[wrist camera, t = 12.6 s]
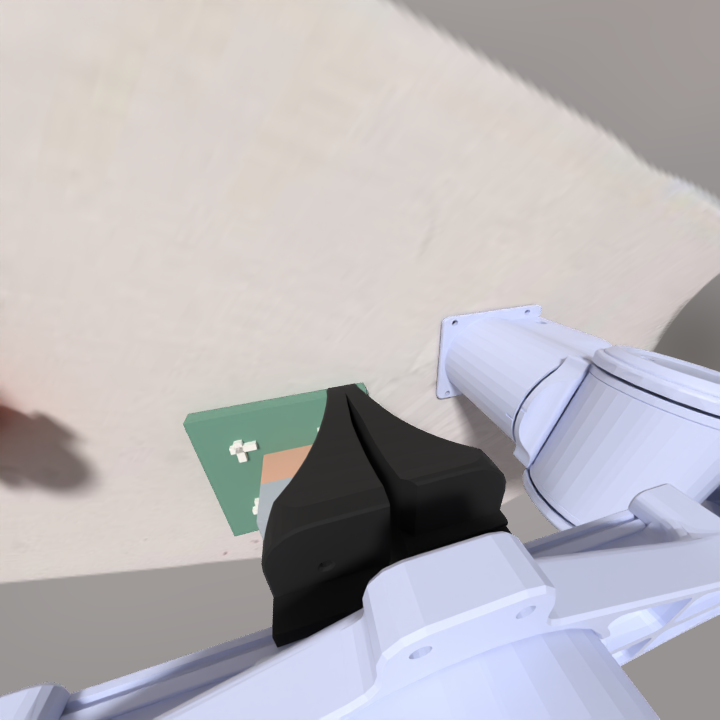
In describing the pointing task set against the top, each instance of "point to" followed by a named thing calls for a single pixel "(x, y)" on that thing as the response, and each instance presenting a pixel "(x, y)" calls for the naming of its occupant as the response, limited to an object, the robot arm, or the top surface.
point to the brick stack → (277, 479)
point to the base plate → (251, 446)
